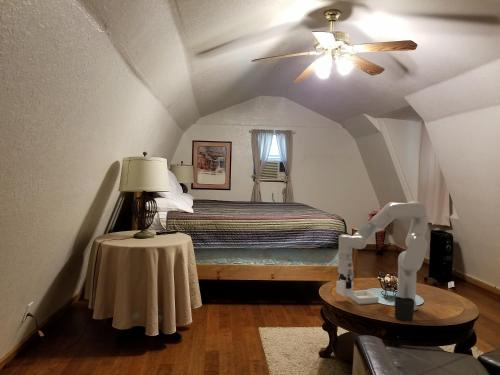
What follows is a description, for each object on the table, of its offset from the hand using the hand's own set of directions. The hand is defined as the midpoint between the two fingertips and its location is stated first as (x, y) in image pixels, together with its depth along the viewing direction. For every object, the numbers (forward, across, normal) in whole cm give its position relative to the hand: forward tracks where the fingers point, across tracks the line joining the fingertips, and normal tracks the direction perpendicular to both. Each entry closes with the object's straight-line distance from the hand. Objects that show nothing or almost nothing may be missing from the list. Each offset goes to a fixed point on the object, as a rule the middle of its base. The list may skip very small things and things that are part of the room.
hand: (345, 286), depth 222 cm
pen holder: (+10, -28, -18) cm, 35 cm away
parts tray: (+9, 0, -12) cm, 15 cm away
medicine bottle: (+5, 0, 0) cm, 5 cm away
